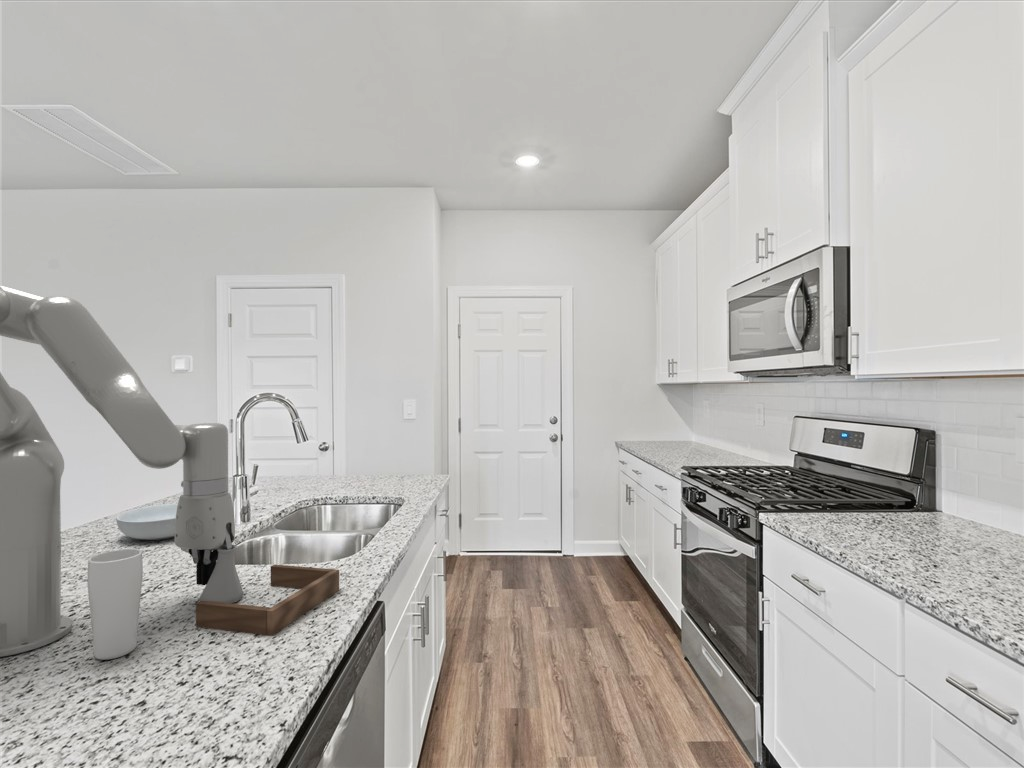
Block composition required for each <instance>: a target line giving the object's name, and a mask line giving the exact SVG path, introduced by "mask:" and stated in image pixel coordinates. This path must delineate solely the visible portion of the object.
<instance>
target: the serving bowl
mask: <svg viewBox="0 0 1024 768" xmlns="http://www.w3.org/2000/svg"><path fill="white" fill-rule="evenodd" d="M177 506H178V502H175V503H166V504H165V503H164V504H163V503H162V504H154V505H149V506H143V507H139V508H134V509H130V510H127V511H125V512H121V513H120V514H118V515H117V516H116V517H115V520H116V521H115V522H116V525H117V527H118V530H120V532H121V533H122V534H123V535H125V536H127V537H129V538H132V539H136V540H147V541H158V540H159V541H160V540H168V539H171V538H175V520H176V512H177Z"/></svg>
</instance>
